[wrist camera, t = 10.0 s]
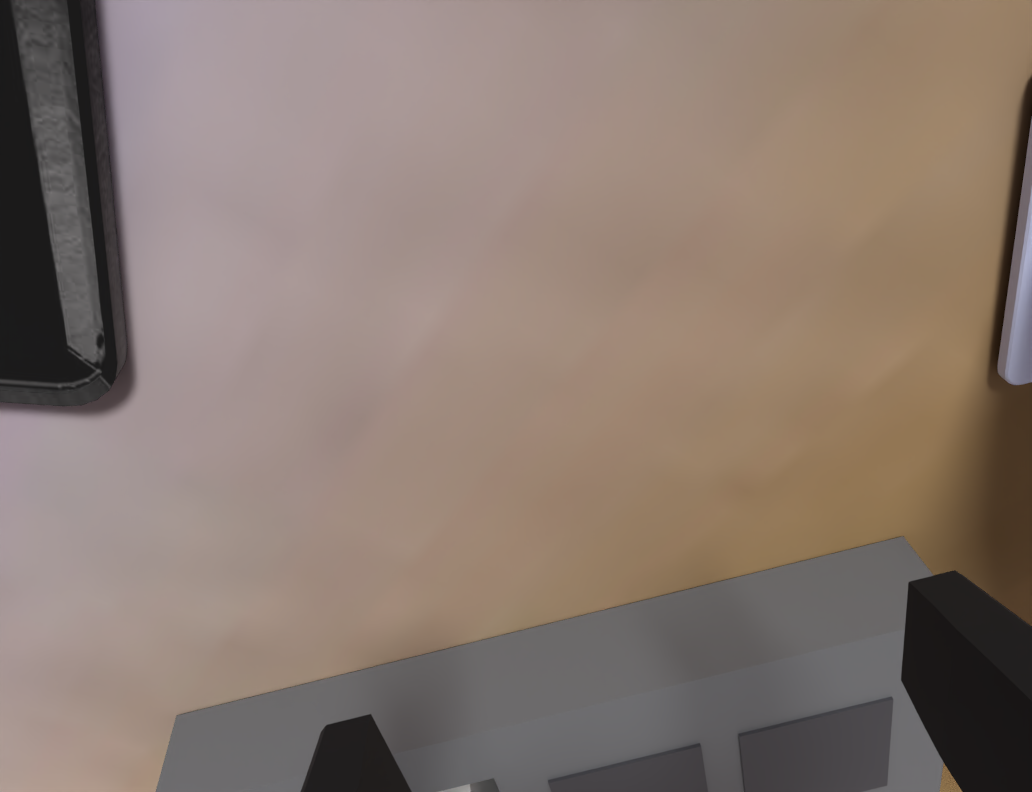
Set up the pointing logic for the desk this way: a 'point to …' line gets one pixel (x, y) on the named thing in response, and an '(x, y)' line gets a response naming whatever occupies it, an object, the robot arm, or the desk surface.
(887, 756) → the power strip
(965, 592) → the robot arm
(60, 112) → the phone
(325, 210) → the desk surface
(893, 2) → the desk surface
